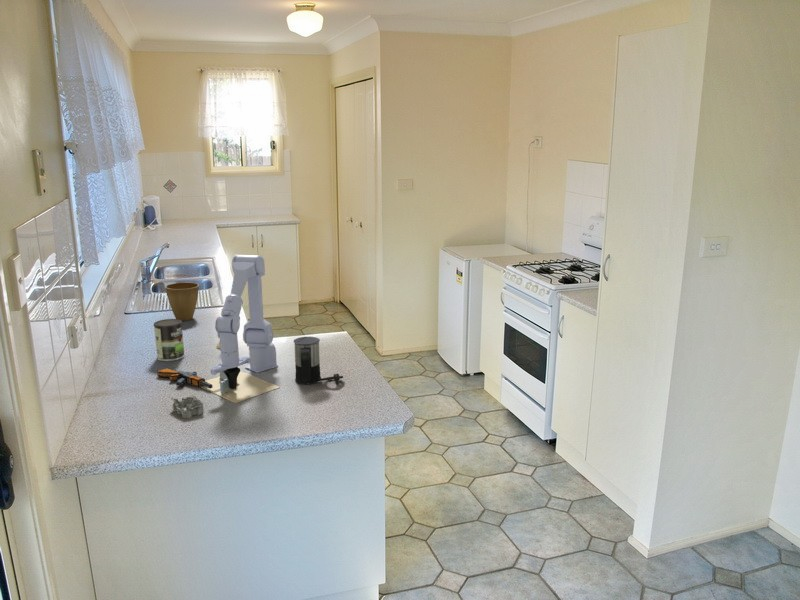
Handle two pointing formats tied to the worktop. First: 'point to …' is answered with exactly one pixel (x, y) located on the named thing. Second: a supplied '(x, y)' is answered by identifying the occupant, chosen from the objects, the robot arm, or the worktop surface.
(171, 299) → the plant pot
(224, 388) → the fence hinged panel
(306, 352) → the milk frother
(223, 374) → the fence fixed panel
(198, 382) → the toy
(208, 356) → the worktop surface
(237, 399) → the card
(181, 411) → the grey rock
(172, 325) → the coffee can
